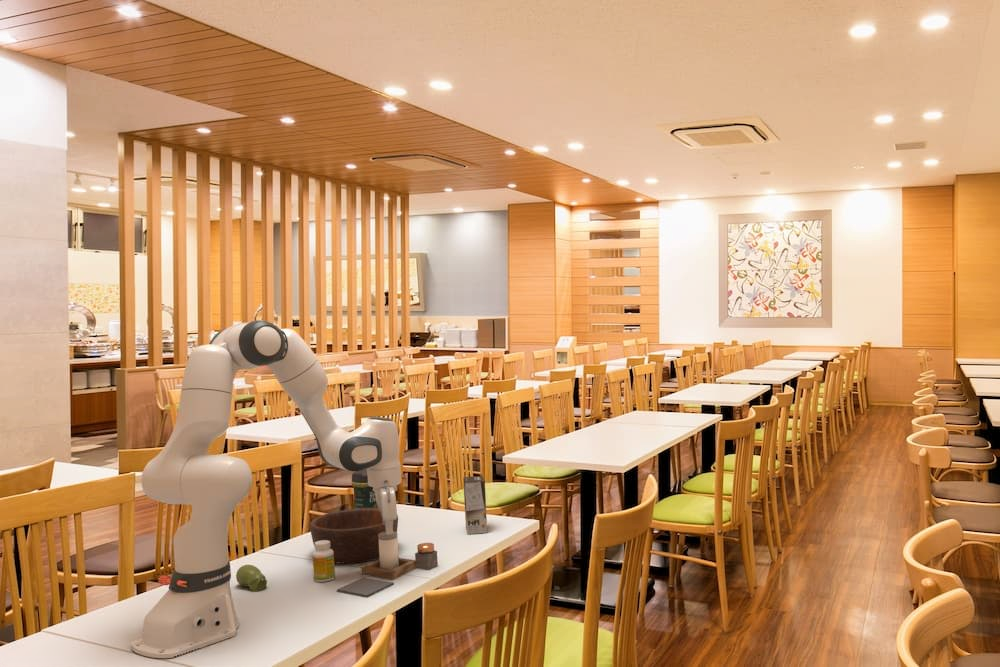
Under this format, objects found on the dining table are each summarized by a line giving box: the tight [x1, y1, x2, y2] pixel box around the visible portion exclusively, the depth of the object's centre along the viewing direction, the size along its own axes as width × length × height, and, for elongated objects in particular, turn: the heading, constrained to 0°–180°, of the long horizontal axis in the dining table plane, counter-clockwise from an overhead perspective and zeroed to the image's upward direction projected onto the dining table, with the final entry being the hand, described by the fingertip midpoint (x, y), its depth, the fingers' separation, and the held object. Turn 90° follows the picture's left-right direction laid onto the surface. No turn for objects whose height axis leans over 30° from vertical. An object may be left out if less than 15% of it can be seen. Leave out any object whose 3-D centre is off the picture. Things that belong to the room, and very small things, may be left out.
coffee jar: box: [351, 468, 379, 509], centre depth 263 cm, size 10×8×19 cm
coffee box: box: [462, 475, 488, 535], centre depth 252 cm, size 9×6×16 cm
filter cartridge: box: [378, 531, 400, 570], centre depth 215 cm, size 5×5×10 cm
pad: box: [336, 577, 395, 598], centre depth 202 cm, size 10×10×1 cm
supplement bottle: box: [312, 540, 336, 583], centre depth 211 cm, size 5×5×10 cm
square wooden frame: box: [360, 550, 439, 581], centre depth 215 cm, size 14×14×4 cm
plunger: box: [416, 542, 435, 554], centre depth 217 cm, size 4×4×5 cm
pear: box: [235, 564, 268, 592], centre depth 208 cm, size 6×5×10 cm
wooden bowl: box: [309, 508, 399, 564], centre depth 233 cm, size 25×25×10 cm
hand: (387, 529), depth 215 cm, fingers open, 8 cm apart
